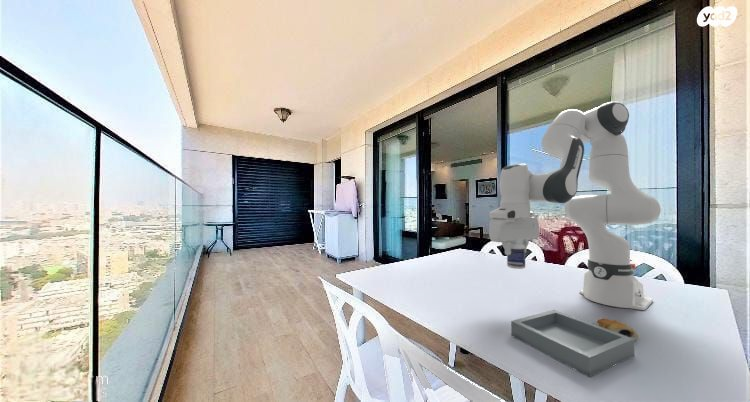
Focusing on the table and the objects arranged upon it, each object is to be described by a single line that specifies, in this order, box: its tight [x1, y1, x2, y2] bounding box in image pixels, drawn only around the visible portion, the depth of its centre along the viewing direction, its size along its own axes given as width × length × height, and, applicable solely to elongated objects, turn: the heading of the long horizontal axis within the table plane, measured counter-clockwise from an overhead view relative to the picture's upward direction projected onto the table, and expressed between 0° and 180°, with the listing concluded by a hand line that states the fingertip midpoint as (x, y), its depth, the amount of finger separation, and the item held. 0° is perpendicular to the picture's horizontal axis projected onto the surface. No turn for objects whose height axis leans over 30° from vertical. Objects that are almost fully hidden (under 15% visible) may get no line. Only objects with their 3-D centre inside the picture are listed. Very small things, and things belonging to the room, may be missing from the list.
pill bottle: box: [506, 239, 526, 270], centre depth 85 cm, size 5×5×10 cm
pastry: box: [596, 317, 639, 342], centre depth 70 cm, size 9×7×4 cm
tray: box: [510, 309, 635, 378], centre depth 64 cm, size 18×18×4 cm
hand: (515, 253), depth 85 cm, fingers closed on pill bottle, 5 cm apart
